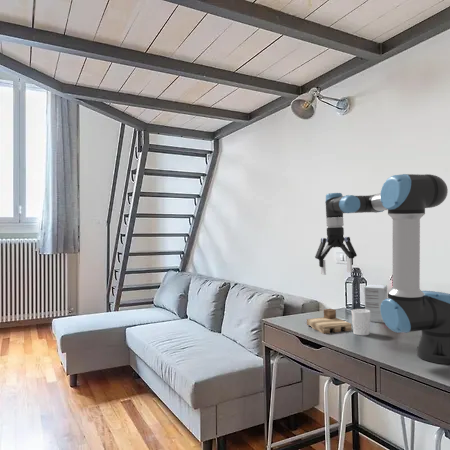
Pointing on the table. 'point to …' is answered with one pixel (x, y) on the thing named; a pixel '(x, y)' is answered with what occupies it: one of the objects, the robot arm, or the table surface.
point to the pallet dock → (329, 325)
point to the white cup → (361, 321)
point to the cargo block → (329, 313)
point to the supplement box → (375, 300)
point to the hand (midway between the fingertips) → (336, 273)
